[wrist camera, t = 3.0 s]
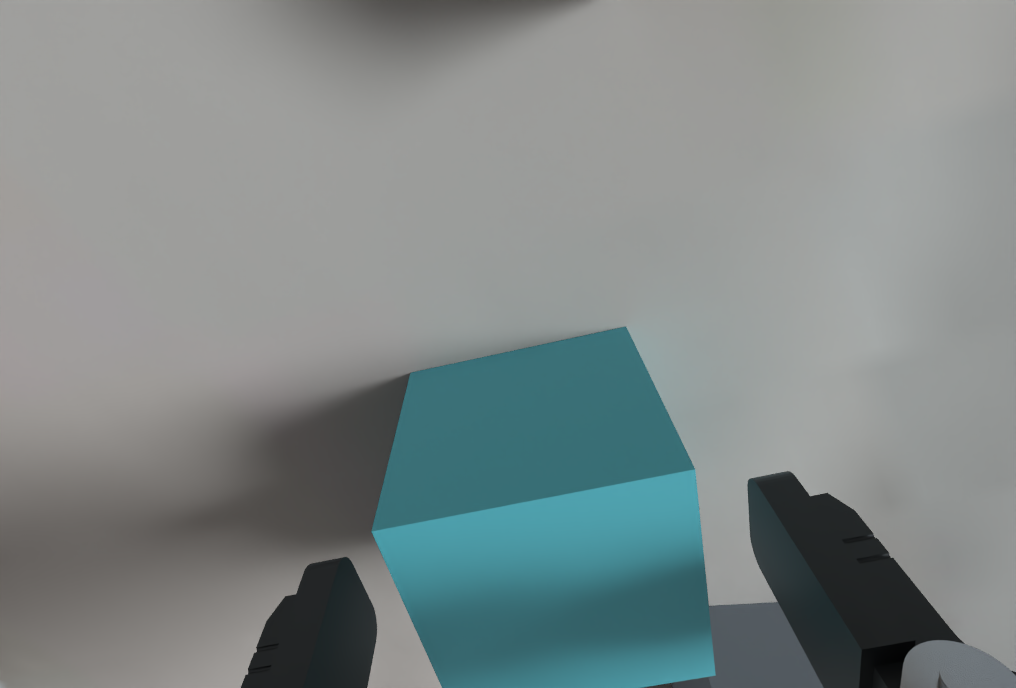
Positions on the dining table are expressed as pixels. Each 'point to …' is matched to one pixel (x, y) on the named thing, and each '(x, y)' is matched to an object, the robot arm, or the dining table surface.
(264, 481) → the dining table surface
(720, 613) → the slate gray block
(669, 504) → the teal block
